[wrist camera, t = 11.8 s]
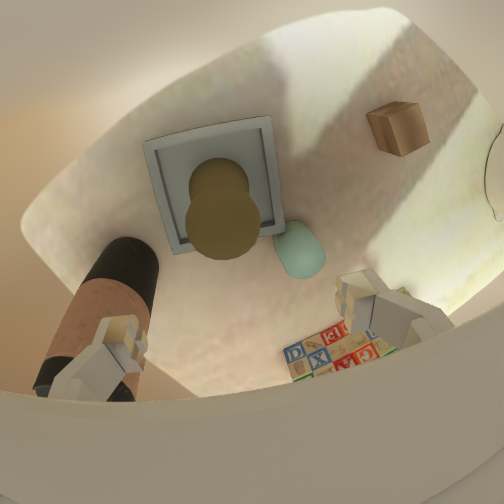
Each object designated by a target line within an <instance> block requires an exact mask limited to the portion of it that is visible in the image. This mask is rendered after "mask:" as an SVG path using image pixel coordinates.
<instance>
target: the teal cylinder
mask: <svg viewBox="0 0 504 504" xmlns="http://www.w3.org/2000/svg"><path fill="white" fill-rule="evenodd" d="M285 229H286V232H284V233H279V234H274V237H273V244H274V247H275V249H276V251H277V253H278V255H279V258H280V260H281V262H282V264H283V266H284V268H285V270H286V272H287V274H288V275H290V276H291V277H293V278H296V279H306V278H309V277H312V276H314V275H315V274H316V273H318V272H319V271H320V270H321V268H322V267H323V265H324V263H325V258H326V255H325V251H324V249H323V247H322V246H321V245H320V243H319V242H318V241H317V239H316V238H315V237H314V235H313V234H312V233H311V231H310V230H309V229H308V228H307V226H306V225H305V224H303V223H301V222H299V221H289V222H286V223H285Z"/></svg>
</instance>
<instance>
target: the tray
mask: <svg viewBox="0 0 504 504" xmlns="http://www.w3.org/2000/svg"><path fill="white" fill-rule="evenodd" d="M142 146H143V150H144V154H145V158H146V162H147V166H148V170H149V174H150V178H151V182H152V185H153V189H154V193H155V196H156V200H157V203H158V207H159V210H160V214H161V217H162V220H163V224H164V227H165V230H166V233H167V237H168V240H169V243H170V246H171V249H172V252H173V255H177V254H182V253H186V252H191V251H196V249H195V248H194V247H193V245H192V244H191V243H190V241H189V239H188V236H187V233H186V230H185V217H186V214H187V211H188V208H189V205H190V203H191V199H190V195H189V180H190V177H191V175H192V173H193V171H194V170H195V169H196V168H197V166H198V165H200V164H201V163H203V162H204V161H206V160H209V159H213V158H227V159H230V160H232V161H235V162H236V163H237V164H239V165H240V166H241V167H242V168H243V170H244V171H245V173H246V174H247V177H248V182H249V196H250V197H251V198H252V199H253V201H254V203H255V204H256V206H257V207H258V209H259V213H260V218H261V225H260V232H259V236H258V238H259V237H264V236H269V235H274V234H279V233H284V232H286V229H285V221H284V212H283V204H282V195H281V187H280V180H279V172H278V164H277V157H276V150H275V143H274V136H273V129H272V122H271V116H260V117H253V118H247V119H241V120H235V121H229V122H224V123H218V124H213V125H208V126H204V127H199V128H194V129H190V130H186V131H182V132H177V133H173V134H170V135H166V136H162V137H158V138H155V139H151V140H147V141H145V142H143V143H142Z"/></svg>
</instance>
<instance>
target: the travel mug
mask: <svg viewBox="0 0 504 504" xmlns="http://www.w3.org/2000/svg"><path fill="white" fill-rule="evenodd" d="M158 272H159V264H158V260H157V257H156V255H155V253H154V252H153V250H152V249H151V248H150V247H149V246H148V245H147V244H145V243H144V242H142V241H140V240H138V239H134V238H120V239H117V240H114V241H113V242H111V243H110V244H109V245H108V246H107V247H106V249H105V250H104V251H103V253H102V254H101V255H100V257H99V258H98V260H97V261H96V263H95V264H94V266H93V267H92V269H91V270H90V272H89V273H88V275H87V276H86V278H85V279H84V281H83V282H82V284H81V286H80V287H79V289H78V290H77V292H76V294H75V296H74V298H73V300H72V302H71V304H70V306H69V308H68V309H67V311H66V314H65V315H64V317H63V319H62V322H61V324H60V326H59V328H58V330H57V332H56V334H55V336H54V339H53V341H52V343H51V345H50V347H49V350H48V352H47V354H46V357H45V359H44V362H43V364H42V366H41V369H40V372H39V374H38V377H37V379H36V382H35V384H34V386H33V390H35V391H36V394H37V397H45V398H48V395H49V392H50V389H51V386H52V383H53V381H54V378H55V376H56V375H58V374H59V373H60V372H61V371H62V370H63V369H64V368H65V367H66V366H67V365H68V364H69V363H70V362H71V361H72V360H73V359H74V358H75V357H76V356H77V355H79V354H80V353H81V352H82V351H83V350H84V349H85V348H86V347H87V346H88V345H92V342H93V339H94V337H95V334H96V331H97V329H98V326H99V324H100V321H101V319H103V318H106V317H113V316H122V315H131V314H134V315H136V317H137V318H138V320H139V324H138V326H139V327H141V328H142V329H144V331H145V333H146V336H147V333H148V328H149V324H150V318H151V311H152V305H153V300H154V294H155V289H156V283H157V278H158ZM139 375H140V372H132V373H126V374H125V376H124V377H123V379H122V380H121V381H120V383H119V384H118V385H117V387H116V388H115V390H114V391H113V392H112V394H111V395H110V397H109V398H108V399H107V401H106V402H135V401H136V394H137V388H138V382H139Z"/></svg>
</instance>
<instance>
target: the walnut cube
mask: <svg viewBox="0 0 504 504" xmlns="http://www.w3.org/2000/svg"><path fill="white" fill-rule="evenodd" d="M366 116H367V118H368V121H369V123H370V126H371V128H372V131H373V134H374V136H375V139H376V142H377V145H378V147H379V150H382V151H385V152H388V153H391V154H393V155H396V156H399V157H403V156H405V155H407V154H409V153H411V152H413V151H414V150H416V149H418V148H420V147H422V146H424V145H426V144H428V143H429V142H430V141H429V137H428V133H427V130H426V126H425V123H424V119H423V116H422V113H421V110H420V107H419V104H417V103H407V102H392V103H390V104H388V105H385V106H383V107H381V108H378V109H376V110H374V111H372V112H369V113H367V114H366Z"/></svg>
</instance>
